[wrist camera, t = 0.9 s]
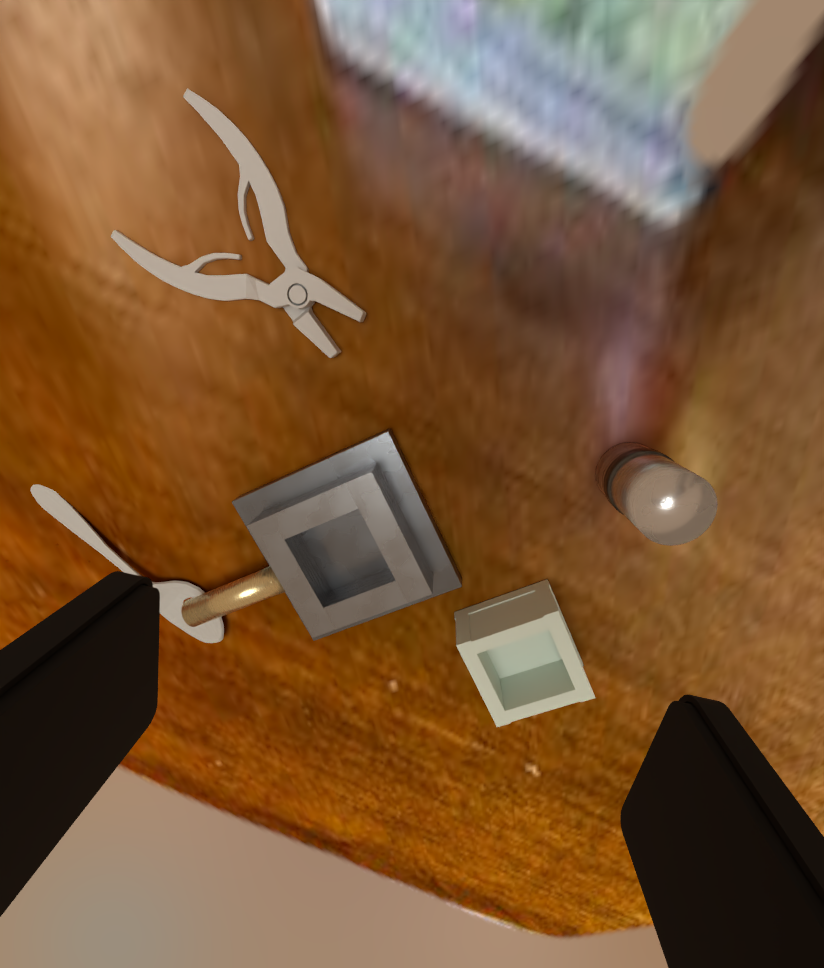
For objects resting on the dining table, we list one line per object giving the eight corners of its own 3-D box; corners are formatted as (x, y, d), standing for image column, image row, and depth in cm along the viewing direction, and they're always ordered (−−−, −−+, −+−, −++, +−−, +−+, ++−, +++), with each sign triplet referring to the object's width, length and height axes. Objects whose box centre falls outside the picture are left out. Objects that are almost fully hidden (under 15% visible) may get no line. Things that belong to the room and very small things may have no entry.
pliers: (180, 75, 25) (398, 267, 27) (196, 90, 26) (401, 271, 28) (98, 237, 28) (302, 400, 30) (116, 242, 29) (309, 397, 31)
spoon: (215, 645, 38) (205, 658, 36) (-8, 480, 35) (-30, 487, 33) (244, 613, 37) (235, 625, 35) (15, 440, 34) (-6, 445, 32)
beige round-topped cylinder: (649, 430, 30) (706, 457, 23) (668, 488, 31) (728, 529, 24) (585, 456, 31) (622, 489, 24) (605, 511, 32) (647, 558, 25)
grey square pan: (390, 428, 31) (382, 439, 28) (461, 578, 34) (462, 605, 30) (165, 529, 35) (134, 550, 31) (247, 656, 37) (227, 689, 34)
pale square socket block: (547, 579, 33) (559, 610, 30) (580, 658, 35) (596, 697, 31) (454, 612, 35) (454, 645, 31) (491, 687, 36) (495, 727, 33)
